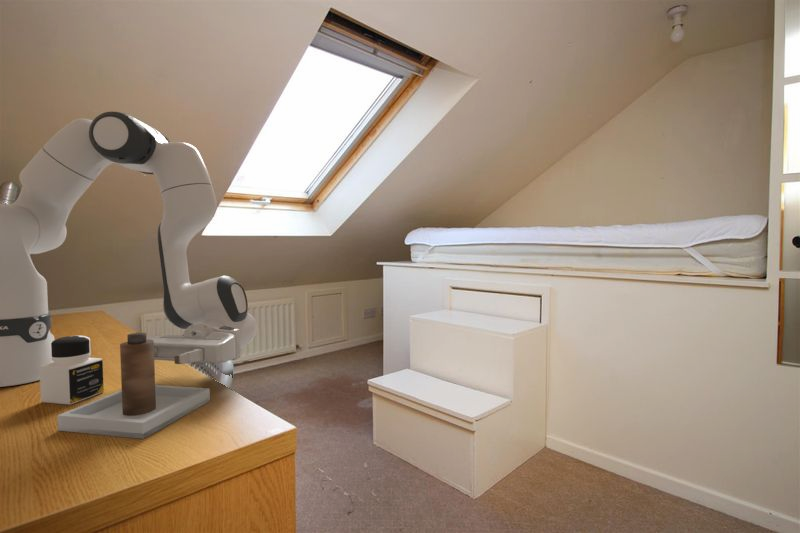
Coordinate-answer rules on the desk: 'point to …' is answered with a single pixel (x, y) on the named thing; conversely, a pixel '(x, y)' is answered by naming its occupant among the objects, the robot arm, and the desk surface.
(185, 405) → the pale dish
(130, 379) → the walnut pepper mill
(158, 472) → the desk surface
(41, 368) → the medicine bottle
